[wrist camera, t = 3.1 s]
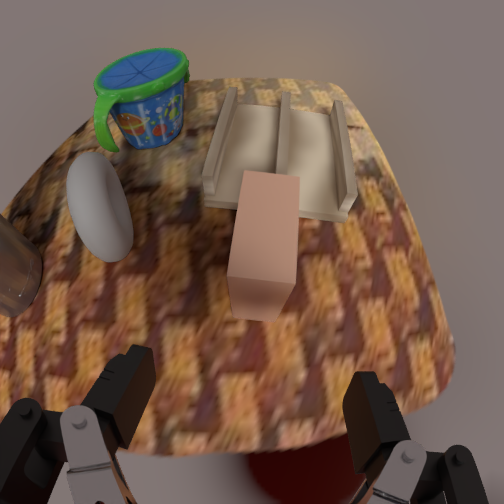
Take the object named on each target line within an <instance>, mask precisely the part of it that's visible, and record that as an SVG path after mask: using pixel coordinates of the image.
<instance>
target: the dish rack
mask: <svg viewBox="0 0 504 504" xmlns="http://www.w3.org/2000/svg"><path fill="white" fill-rule="evenodd" d="M290 94H291V92H283V91H282V98H281V106H280V108H278V107H269V106H259V105H248V104H237V87H229V89H228V92H227V95H226V98H225V101H224V104H223V107H222V110H221V113H220V116H219V119H218V122H217V125H216V128H215V131H214V135H213V138H212V141H211V144H210V148H209V151H208V154H207V158H206V161H205V165H204V168H203V171H202V175H201V176H202V182H203V188H204V194H205V197H204V204H205V207H215V208H225V209H235V210H237V208H238V202H239V197H240V191H241V185H242V179H243V173H244V170H246V171H256V172H265V173H274V174H282V175H290V176H297V177H300V191H299V217H303V218H311V219H318V220H326V221H333V222H340V223H345V221H346V220H347V218H348V211H349V210H350V208H351V206H352V204H353V202H354V201H355V199H356V197H357V195H358V193H357V185H356V177H355V170H354V163H353V157H352V150H351V144H350V139H349V133H348V128H347V122H346V117H345V112H344V107H343V103H342V101H338V100H334V103H333V107H332V110H331V114H330V115H325V114H320V113H314V112H307V111H301V110H294V109H290Z"/></svg>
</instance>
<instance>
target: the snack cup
mask: <svg viewBox="0 0 504 504" xmlns="http://www.w3.org/2000/svg"><path fill="white" fill-rule="evenodd" d="M188 67H189V61H188V60H187V58H186V56H185V54H184V53H183V52H181V51H180V50H176V49H172V48H155V49H147V50H143V51H139V52H135V53H133V54H130V55H127V56H125V57H122V58H120V59H118V60H116V61H115V62H113V63H112V64H110V65H108V66H107V67H106V68H104V69H103V70H102V71H101V72H100V73H99V74H98V75H97V77H96V79H95V81H94V89H95V91H96V94H97V96H98V98H97V101H96V104H95V108H94V128H95V133H96V137H97V140H98V142H99V144H100V145H101V146H102V147H103V148H104V149H106V150H108V151H110V152H119V148H118V147H117V146H116V144H115V142H114V140H113V137H112V135H111V132H110V129H109V127H108V124H107V118H108V115H109V112H110V114H111V115H112V117H113V119H114V120H115V122H116V123H117V125H118V127H119V129H120V131H121V132H122V134H123V135H124V136H125V138H126V140H127V141H128V142H129V143H130V144H131V145H132V146H134V147H135V148H136V149H146V148H155V147H159V146H161V145H166V144H168V143H169V142H170V141H171V140H172V139H173V138H175V137H176V136H177V135H178V133H179V132H180V130H181V128H182V126H183V108H184V83H187V82H188V81H189V77H190V74H189V70H188Z"/></svg>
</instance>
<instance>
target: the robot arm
mask: <svg viewBox="0 0 504 504" xmlns="http://www.w3.org/2000/svg"><path fill="white" fill-rule="evenodd" d="M41 275H42V260H41V256H40V253H39V251H38V249H37V247H36V246H35V245H34V244H33V243H32V242H30V241H29V240H28V239H27V238H26V237H25V236H24V235H22V234H21V233H20V232H19V231H18V230H17V229H16V228H15V227H14V226H13V225H12V224H11V223H10V222H8V221H7V220H6V219H5V218H4V217H3V216H2V215H1V214H0V314H1V315H4V316H6V317H14V316H18V315H19V314H21V313H23V312H24V311H25V310H26V309H27V308H28V306H29V305H30V304H31V302H32V301H33V299H34V297H35V295H36V293H37V290H38V287H39V285H40V280H41ZM155 382H156V373H155V366H154V359H153V351H152V349H151V348H148V347H144V346H139V345H135V344H133V345H132V346H131V347H130V349H129V350H128V352H127V353H126V355H123V354H118V355H117V356H115V357H114V358H112V359H111V360H110V361H109V362H108V364H107V365H106V367H105V368H104V371H102V373H101V374H100V376H99V378H98V379H97V380H96V382H95V383H94V385H93V386H92V388H91V389H90V391H89V392H88V394H87V396H86V397H85V399H84V400H83V402H82V403H81V405H76V406H72V407H69V408H68V409H66V410H65V411H64V412H55V411H48V410H42V408H41V406H40V405H39V403H38V402H37V401H35V400H34V399H31V398H23V399H20V400H18V401H16V402H15V403H14V404H13V406H12V407H11V409H10V410H9V411H8V413H7V414H6V416H5V417H4V419H3V420H2V422H1V424H0V504H47V503H48V500H49V498H50V495H51V493H52V490H53V488H54V485H55V483H56V481H57V478H58V476H59V474H60V471H61V469H62V467H63V465H64V462H68V463H69V469H70V470H69V471H67V480H68V483H69V487H70V490H71V494H72V497H73V500H74V503H75V504H137V502H136V500H135V498H134V497H133V495H132V493H131V491H130V489H129V486H128V484H127V482H126V480H125V477H124V475H123V473H122V470H121V468H120V465H119V462H118V460H117V457H116V455H115V453H116V451H117V449H118V447H121V448H124V449H127V450H128V447H129V445H130V443H131V440H132V438H133V435H134V433H135V431H136V428H137V426H138V424H139V421H140V419H141V417H142V415H143V412H144V410H145V408H146V405H147V403H148V401H149V399H150V396H151V394H152V392H153V390H154V387H155ZM342 407H343V414H344V418H345V423H346V428H347V433H348V437H349V442H350V447H351V453H352V458H353V463H354V468H355V474H360V473H365V474H366V479H365V481H364V482H363V483H362V485H361V487H360V488H359V490H358V491H357V493H356V494H355V496H354V497H353V499H352V500H351V502H350V503H349V504H409V500H410V504H446V501H447V504H489V503H488V500H487V496H486V493H485V490H484V487H483V484H482V481H481V478H480V475H479V472H478V469H477V466H476V464H475V461H474V458H473V456H472V453H471V452H470V451H469V449H468V448H466V447H464V446H462V445H454V446H451V447H450V448H449V449H448V450H447V451H446V452H445V453H439V452H428V451H425V449H424V448H423V446H422V445H421V444H419V443H418V442H415V441H412V440H411V439H410V436H409V433H408V431H407V428H406V425H405V422H404V420H403V417H402V415H401V412H400V411H399V407H398V404H397V403H396V399H395V397H394V395H393V392H392V391H391V390H390V389H389V388H388V387H387V385H386V384H385V383H379V380H378V378H377V375H376V373H375V372H374V371H357V372H355V373H354V375H353V378H352V380H351V382H350V384H349V387H348V389H347V391H346V393H345V396H344V398H343V406H342ZM443 491H444V492H443ZM444 493H445V496H446V501H445V496H444Z"/></svg>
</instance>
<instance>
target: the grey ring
mask: <svg viewBox="0 0 504 504" xmlns="http://www.w3.org/2000/svg"><path fill="white" fill-rule="evenodd" d="M66 185H67V200H68V205H69V210H70V214H71V217H72V220H73V222H74V225H75V228H76V230H77V232H78V234H79V236H80V237H81V239H82V241H83V243H84V244H85V245H86V247H87V248H88V249H89V250H90V252H91V253H92V254H93V255H95V256H96V257H98V258H99V259H101V260H103V261H104V262H115V261H120V260H122V259H124V258H125V257H126V256H127V255H128V254H129V252H130V249H131V247H132V245H133V233H134V232H133V224H132V219H131V214H130V210H129V207H128V203H127V200H126V197H125V194H124V191H123V188H122V185H121V183H120V180H119V178H118V176H117V173H116V171H115V169H114V168H113V166H112V164H111V163H110V162H109V161H108V159H107V158H106V157H105V156H104V155H102V154H100V153H97V152H86V153H82V154H81V155H79V156H78V157H77V158H76V160H75V161H74V162H73V163H72V165H71V166H70V169H69V171H68V176H67V182H66Z"/></svg>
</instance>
